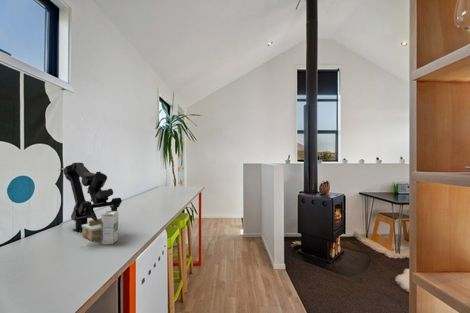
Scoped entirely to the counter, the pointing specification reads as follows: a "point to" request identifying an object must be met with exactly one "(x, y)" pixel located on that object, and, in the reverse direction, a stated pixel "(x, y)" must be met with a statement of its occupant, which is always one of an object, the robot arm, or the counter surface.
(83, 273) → the counter surface
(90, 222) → the lid
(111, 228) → the syrup box
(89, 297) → the counter surface
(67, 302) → the counter surface
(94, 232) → the toolbox
